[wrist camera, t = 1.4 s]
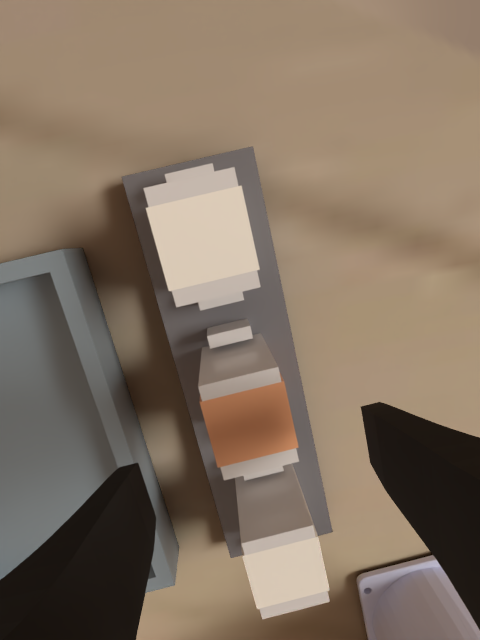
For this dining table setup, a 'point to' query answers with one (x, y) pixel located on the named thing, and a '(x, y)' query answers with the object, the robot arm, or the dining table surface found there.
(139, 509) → the robot arm
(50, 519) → the tray
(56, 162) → the dining table surface
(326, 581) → the fuse
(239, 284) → the block
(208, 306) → the block
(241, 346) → the fuse marked
